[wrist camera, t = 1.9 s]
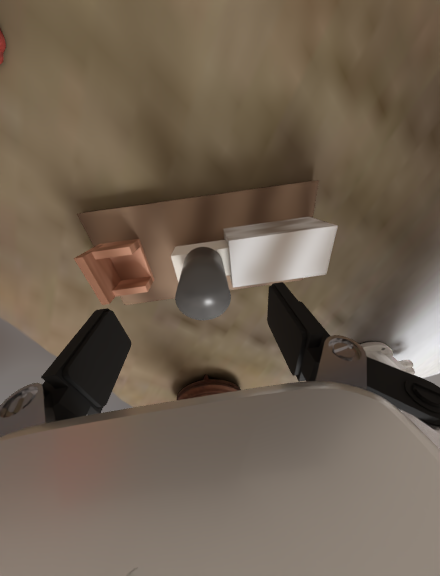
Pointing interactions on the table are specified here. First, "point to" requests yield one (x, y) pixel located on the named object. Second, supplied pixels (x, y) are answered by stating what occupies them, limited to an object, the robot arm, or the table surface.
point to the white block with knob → (202, 279)
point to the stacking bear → (2, 46)
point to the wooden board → (206, 228)
